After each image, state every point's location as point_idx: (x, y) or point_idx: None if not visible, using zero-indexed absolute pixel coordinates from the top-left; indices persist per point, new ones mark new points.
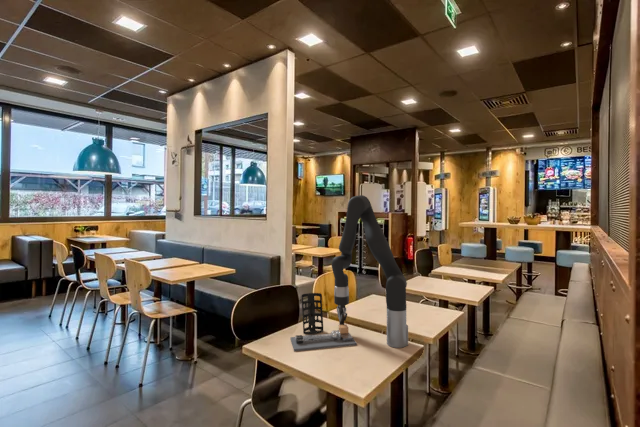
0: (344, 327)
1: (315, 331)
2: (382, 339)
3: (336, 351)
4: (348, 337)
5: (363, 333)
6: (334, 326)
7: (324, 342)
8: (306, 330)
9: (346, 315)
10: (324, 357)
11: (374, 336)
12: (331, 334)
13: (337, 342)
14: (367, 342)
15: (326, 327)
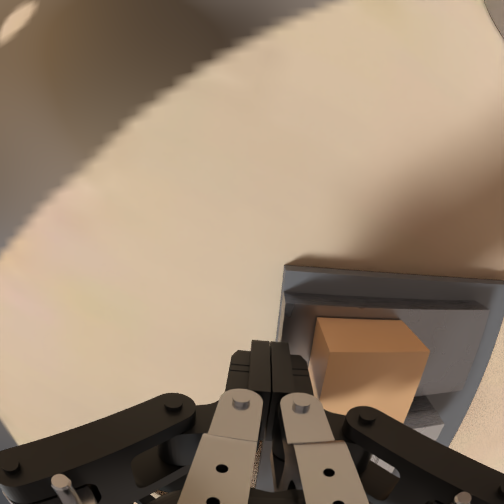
0: (412, 394)
1: (185, 480)
2: (470, 39)
3: (490, 413)
4: (470, 343)
5: (320, 104)
6: (73, 318)
7: (393, 473)
8: (154, 499)
9: (498, 480)
10: (491, 457)
11: (412, 51)
12: (382, 464)
13: (439, 411)
14: (496, 176)
15: (89, 382)
